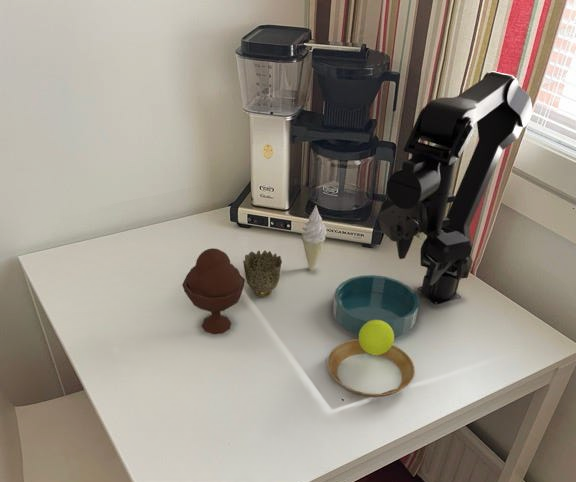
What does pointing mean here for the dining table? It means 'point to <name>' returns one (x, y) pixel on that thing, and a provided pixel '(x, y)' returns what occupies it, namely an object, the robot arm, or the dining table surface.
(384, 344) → the ball
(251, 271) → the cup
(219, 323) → the ice cream bowl
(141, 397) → the dining table surface
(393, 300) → the glazed bowl
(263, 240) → the dining table surface
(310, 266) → the ice cream cone
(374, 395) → the plant saucer
